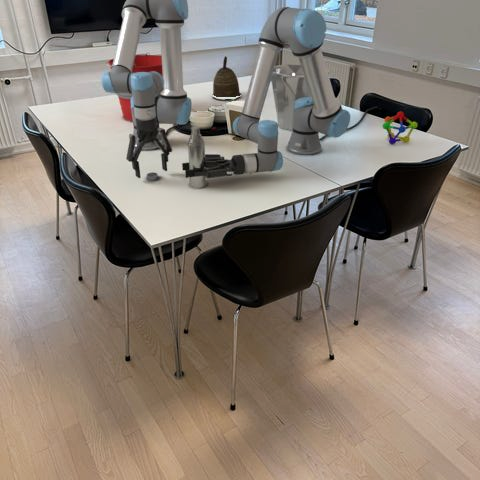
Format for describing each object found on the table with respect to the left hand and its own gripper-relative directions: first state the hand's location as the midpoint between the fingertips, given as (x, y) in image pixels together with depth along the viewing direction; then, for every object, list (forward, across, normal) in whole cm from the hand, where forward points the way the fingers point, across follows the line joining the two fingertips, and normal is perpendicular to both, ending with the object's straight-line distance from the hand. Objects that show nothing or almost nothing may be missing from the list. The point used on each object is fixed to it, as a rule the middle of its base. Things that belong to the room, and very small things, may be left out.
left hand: (151, 173), depth 174 cm
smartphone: (+2, +28, 0) cm, 28 cm away
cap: (+1, 0, 0) cm, 1 cm away
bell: (+2, +96, +86) cm, 128 cm away
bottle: (+2, +12, -16) cm, 20 cm away
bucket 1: (+2, +36, +79) cm, 87 cm away
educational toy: (+2, +113, -31) cm, 117 cm away
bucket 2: (+2, +92, +18) cm, 94 cm away
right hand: (-4, +7, -14) cm, 16 cm away
